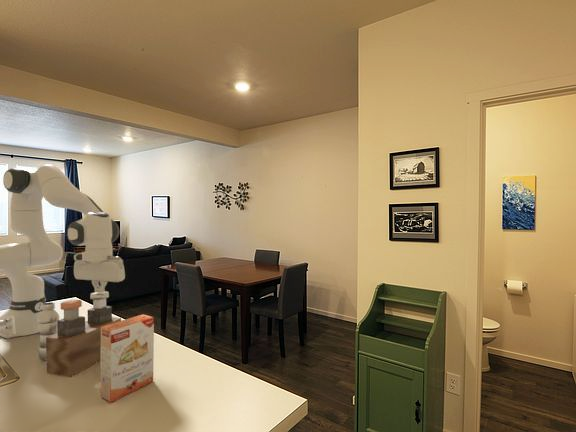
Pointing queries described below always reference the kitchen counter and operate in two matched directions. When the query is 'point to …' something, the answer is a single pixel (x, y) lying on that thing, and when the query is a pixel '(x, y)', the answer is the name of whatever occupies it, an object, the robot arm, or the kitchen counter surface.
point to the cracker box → (126, 356)
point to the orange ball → (71, 309)
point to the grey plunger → (99, 300)
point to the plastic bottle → (47, 326)
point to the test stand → (77, 343)
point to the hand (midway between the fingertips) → (99, 292)
